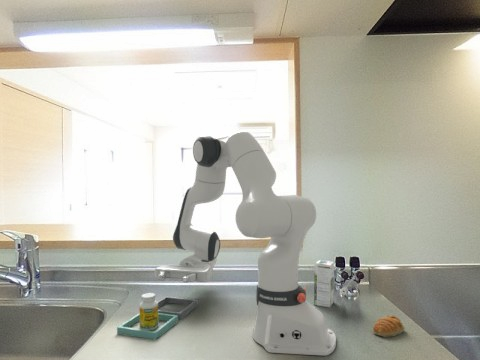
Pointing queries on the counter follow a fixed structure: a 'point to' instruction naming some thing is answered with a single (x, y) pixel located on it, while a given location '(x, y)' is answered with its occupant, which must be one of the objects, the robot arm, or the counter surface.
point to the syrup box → (324, 283)
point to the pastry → (388, 326)
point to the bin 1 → (145, 333)
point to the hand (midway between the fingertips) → (172, 279)
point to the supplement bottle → (148, 312)
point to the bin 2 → (189, 302)
